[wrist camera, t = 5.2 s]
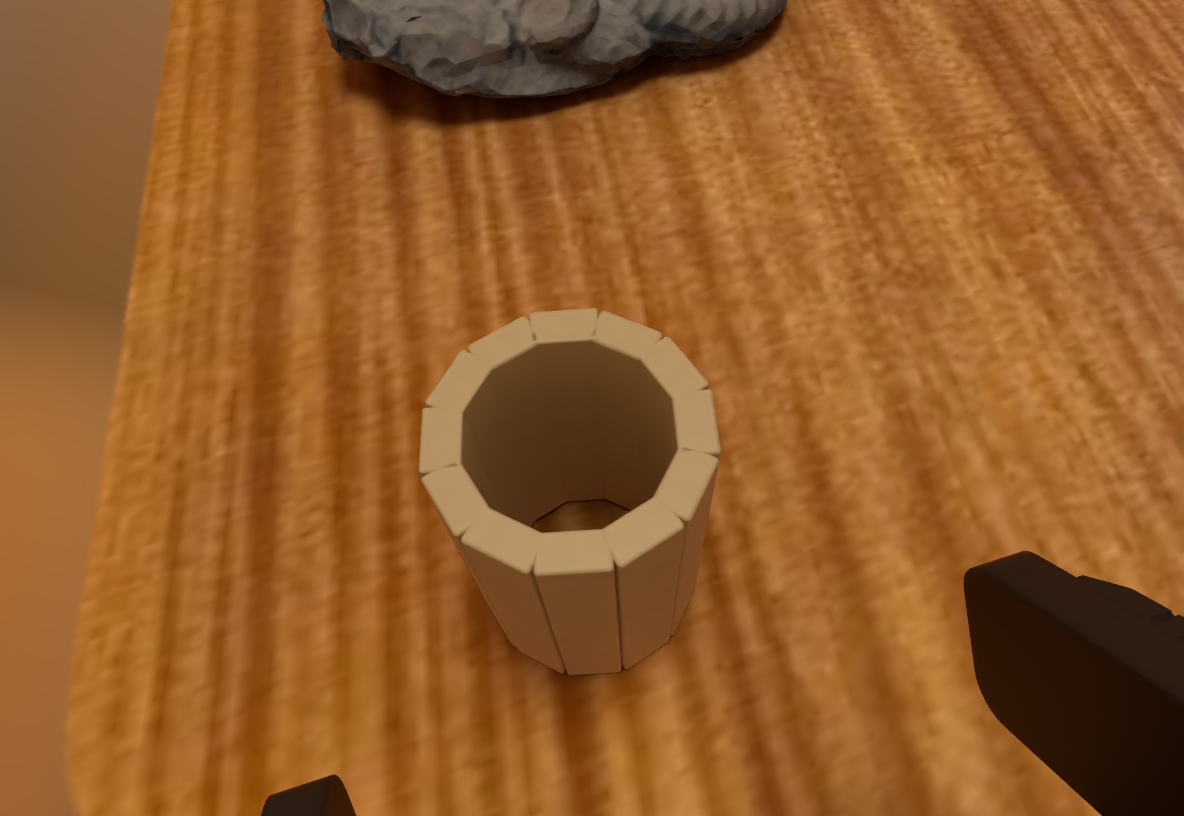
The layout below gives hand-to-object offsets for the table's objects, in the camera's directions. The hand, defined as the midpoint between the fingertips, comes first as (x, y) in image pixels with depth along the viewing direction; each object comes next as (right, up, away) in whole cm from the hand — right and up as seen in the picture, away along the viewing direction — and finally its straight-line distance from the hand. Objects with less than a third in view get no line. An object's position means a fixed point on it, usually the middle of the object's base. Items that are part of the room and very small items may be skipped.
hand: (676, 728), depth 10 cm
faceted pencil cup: (-1, 0, +12) cm, 12 cm away
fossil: (-2, +21, +25) cm, 33 cm away
